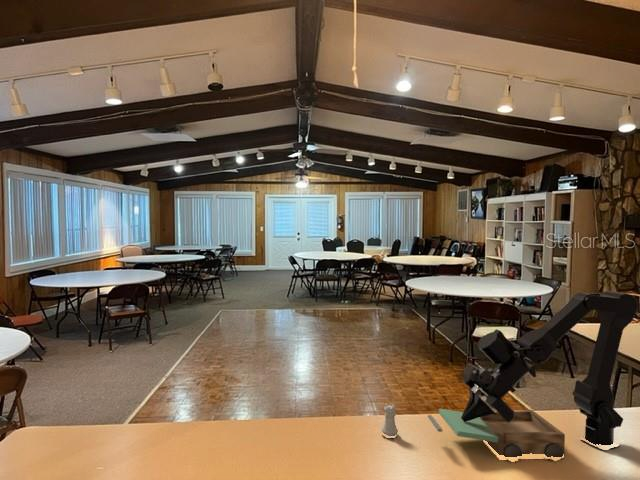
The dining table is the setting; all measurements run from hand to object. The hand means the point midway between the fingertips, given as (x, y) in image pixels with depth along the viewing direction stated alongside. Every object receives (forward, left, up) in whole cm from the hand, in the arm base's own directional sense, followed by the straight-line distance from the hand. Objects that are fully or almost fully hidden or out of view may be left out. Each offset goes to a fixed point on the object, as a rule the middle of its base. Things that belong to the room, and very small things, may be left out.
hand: (462, 419), depth 106 cm
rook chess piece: (+14, -12, -7) cm, 20 cm away
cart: (-13, +5, -7) cm, 16 cm away
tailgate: (-6, +2, -3) cm, 7 cm away
